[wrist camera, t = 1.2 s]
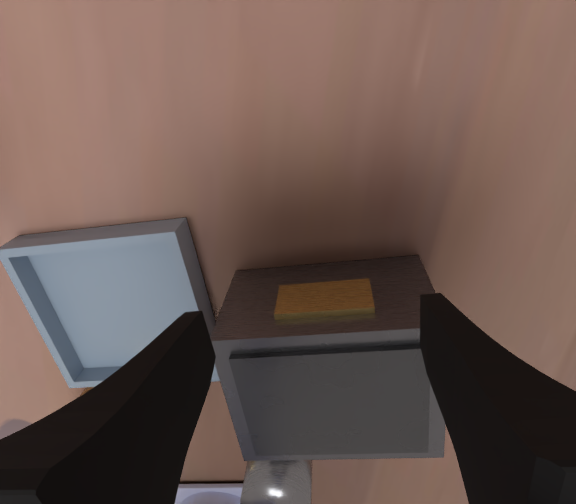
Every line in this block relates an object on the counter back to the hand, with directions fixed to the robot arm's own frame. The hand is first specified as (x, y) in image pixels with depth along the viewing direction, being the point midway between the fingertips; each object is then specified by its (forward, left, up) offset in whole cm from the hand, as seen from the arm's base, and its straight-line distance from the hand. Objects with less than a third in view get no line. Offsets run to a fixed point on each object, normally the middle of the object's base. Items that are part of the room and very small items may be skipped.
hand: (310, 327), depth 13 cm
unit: (-6, 0, -9) cm, 11 cm away
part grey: (-14, +4, -9) cm, 17 cm away
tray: (-4, +12, -9) cm, 15 cm away
